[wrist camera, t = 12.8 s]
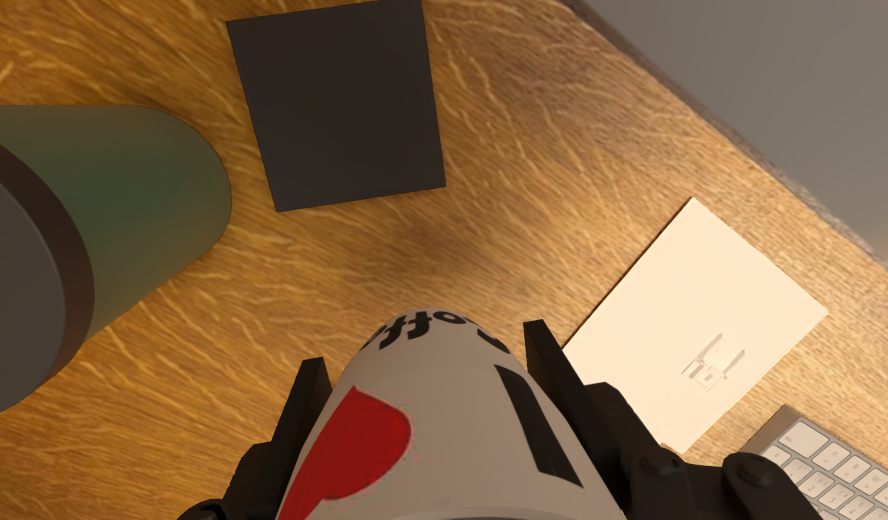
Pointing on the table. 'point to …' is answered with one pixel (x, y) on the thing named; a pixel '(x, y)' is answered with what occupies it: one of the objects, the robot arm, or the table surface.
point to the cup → (442, 435)
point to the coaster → (341, 102)
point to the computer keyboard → (823, 467)
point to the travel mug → (93, 225)
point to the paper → (692, 327)
